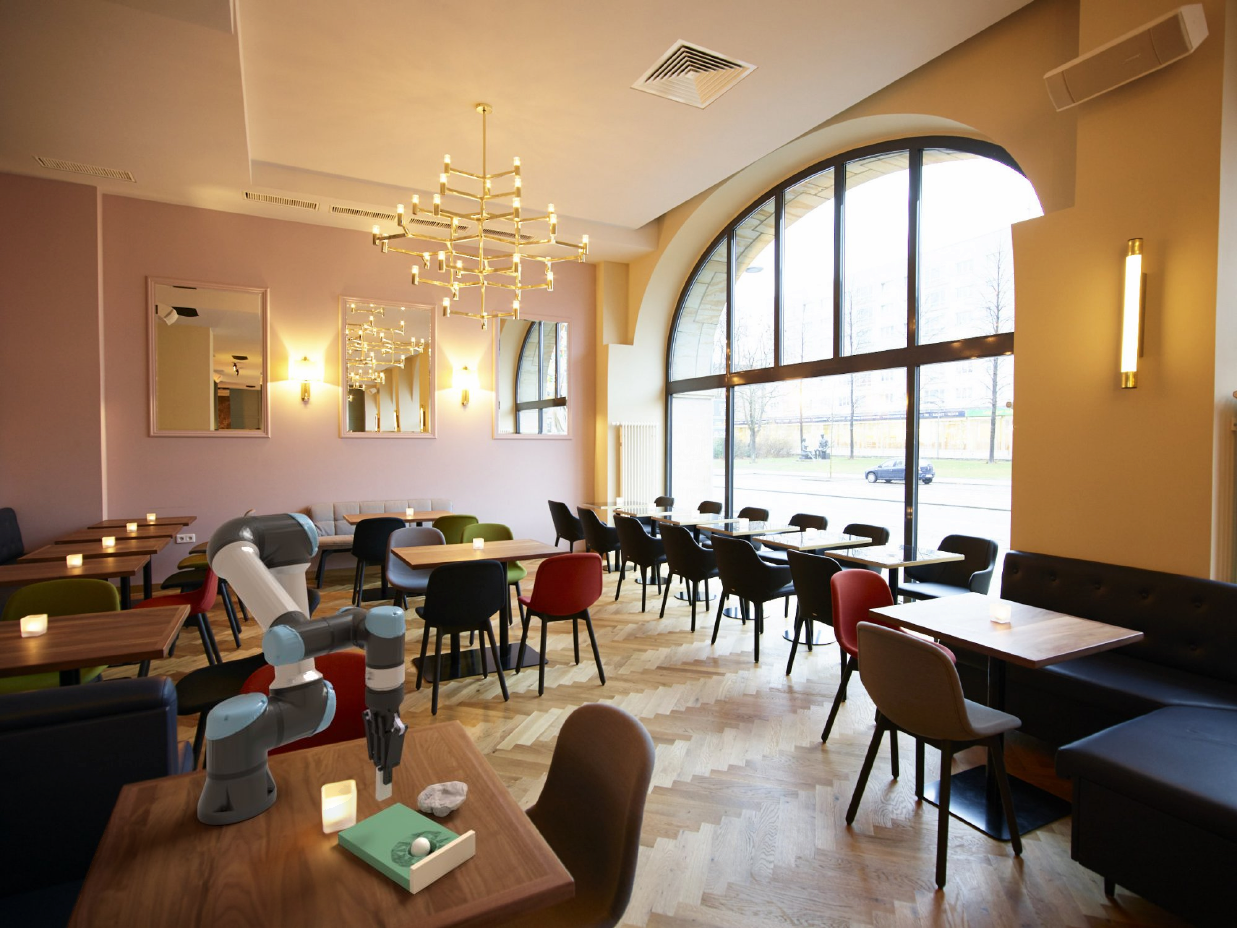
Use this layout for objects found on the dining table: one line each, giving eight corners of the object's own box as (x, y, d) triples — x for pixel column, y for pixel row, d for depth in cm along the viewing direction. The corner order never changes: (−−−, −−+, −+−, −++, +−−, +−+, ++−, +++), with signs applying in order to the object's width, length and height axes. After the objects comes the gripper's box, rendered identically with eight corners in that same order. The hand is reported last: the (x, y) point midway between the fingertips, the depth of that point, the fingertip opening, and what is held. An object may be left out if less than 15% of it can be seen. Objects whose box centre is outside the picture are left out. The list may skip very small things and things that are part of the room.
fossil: (460, 808, 134) (418, 788, 135) (449, 833, 135) (408, 813, 136) (474, 783, 143) (435, 765, 144) (464, 807, 144) (425, 789, 144)
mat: (338, 842, 127) (337, 821, 127) (398, 811, 138) (398, 791, 138) (414, 894, 112) (413, 869, 112) (475, 854, 123) (475, 831, 123)
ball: (407, 860, 122) (405, 841, 122) (423, 850, 125) (421, 832, 125) (418, 864, 120) (417, 845, 120) (434, 855, 122) (432, 835, 123)
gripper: (350, 681, 129) (349, 793, 130) (387, 697, 122) (385, 817, 122) (383, 671, 135) (381, 778, 136) (420, 686, 128) (418, 800, 128)
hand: (383, 797), depth 129 cm, fingers closed
